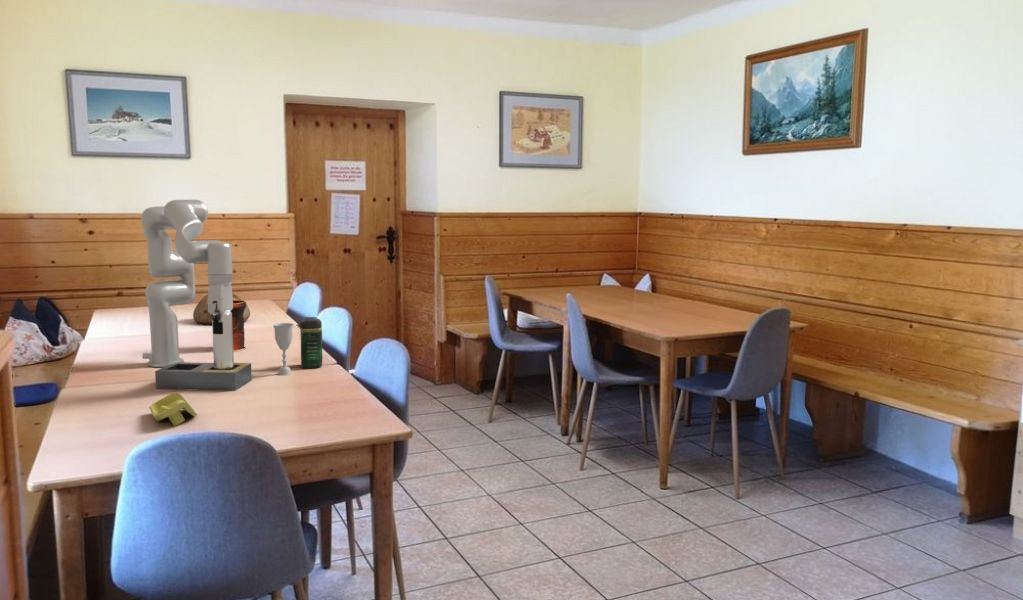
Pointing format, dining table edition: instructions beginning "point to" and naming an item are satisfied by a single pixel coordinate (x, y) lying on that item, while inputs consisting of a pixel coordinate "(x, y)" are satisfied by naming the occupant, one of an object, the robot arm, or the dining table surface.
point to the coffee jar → (311, 342)
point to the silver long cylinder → (224, 344)
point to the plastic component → (171, 408)
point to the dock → (202, 376)
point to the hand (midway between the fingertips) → (222, 331)
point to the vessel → (238, 324)
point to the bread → (205, 318)
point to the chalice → (283, 343)
